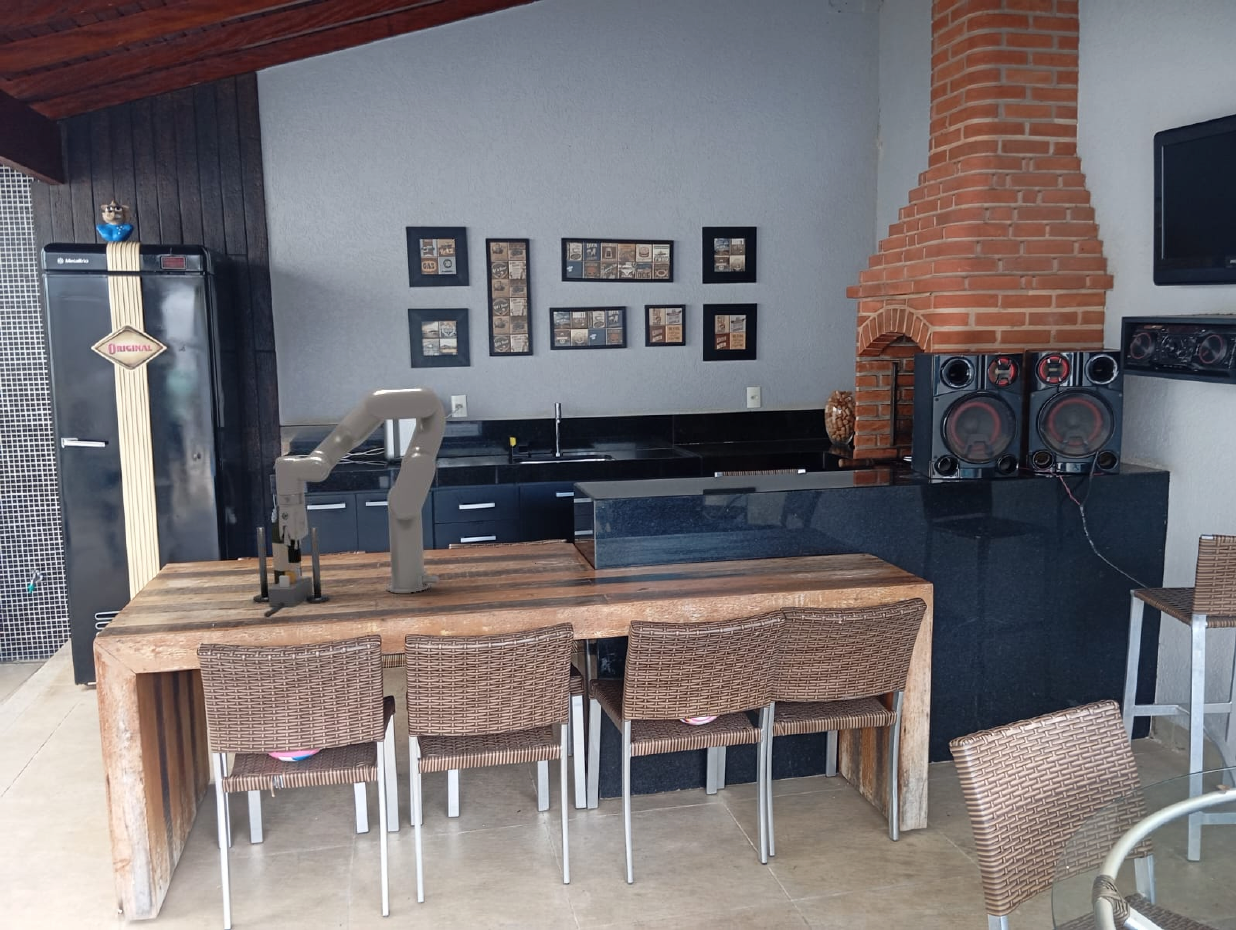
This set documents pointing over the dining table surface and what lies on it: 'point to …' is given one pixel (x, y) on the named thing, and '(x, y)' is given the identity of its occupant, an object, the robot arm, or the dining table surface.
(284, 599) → the grey power strip
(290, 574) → the breaker paddle
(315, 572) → the post
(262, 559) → the post
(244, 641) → the dining table surface
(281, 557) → the wine bottle
